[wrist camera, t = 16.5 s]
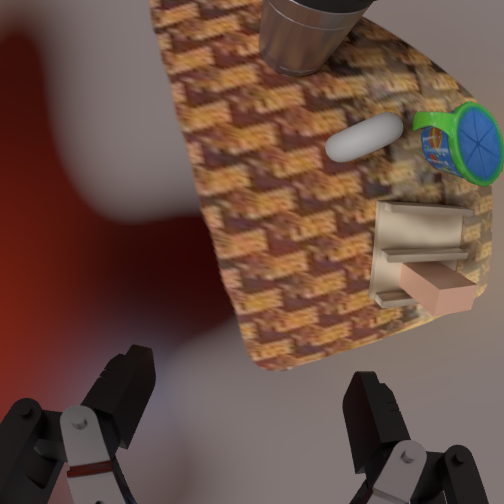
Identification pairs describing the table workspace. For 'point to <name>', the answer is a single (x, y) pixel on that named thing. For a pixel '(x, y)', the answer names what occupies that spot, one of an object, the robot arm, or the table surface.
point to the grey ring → (364, 137)
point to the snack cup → (463, 142)
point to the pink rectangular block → (437, 287)
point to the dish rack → (412, 244)
